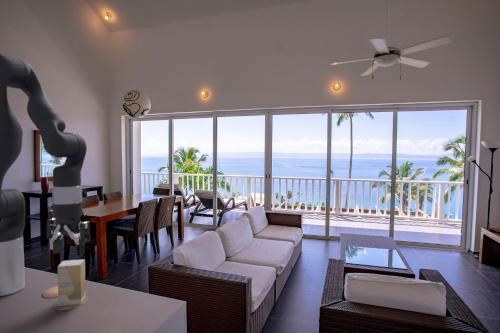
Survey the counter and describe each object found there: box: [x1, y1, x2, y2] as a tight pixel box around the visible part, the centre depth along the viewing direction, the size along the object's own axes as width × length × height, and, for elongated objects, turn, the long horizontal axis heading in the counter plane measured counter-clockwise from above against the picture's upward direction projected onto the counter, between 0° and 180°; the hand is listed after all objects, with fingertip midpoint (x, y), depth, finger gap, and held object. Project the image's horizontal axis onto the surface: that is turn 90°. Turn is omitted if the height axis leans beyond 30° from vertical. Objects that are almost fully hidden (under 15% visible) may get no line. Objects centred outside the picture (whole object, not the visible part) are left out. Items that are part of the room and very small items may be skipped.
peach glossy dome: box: [42, 285, 58, 299], centre depth 94 cm, size 8×8×1 cm
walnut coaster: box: [52, 294, 89, 311], centre depth 87 cm, size 9×9×1 cm
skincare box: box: [57, 259, 86, 306], centre depth 86 cm, size 6×4×12 cm
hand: (68, 254), depth 86 cm, fingers open, 8 cm apart
